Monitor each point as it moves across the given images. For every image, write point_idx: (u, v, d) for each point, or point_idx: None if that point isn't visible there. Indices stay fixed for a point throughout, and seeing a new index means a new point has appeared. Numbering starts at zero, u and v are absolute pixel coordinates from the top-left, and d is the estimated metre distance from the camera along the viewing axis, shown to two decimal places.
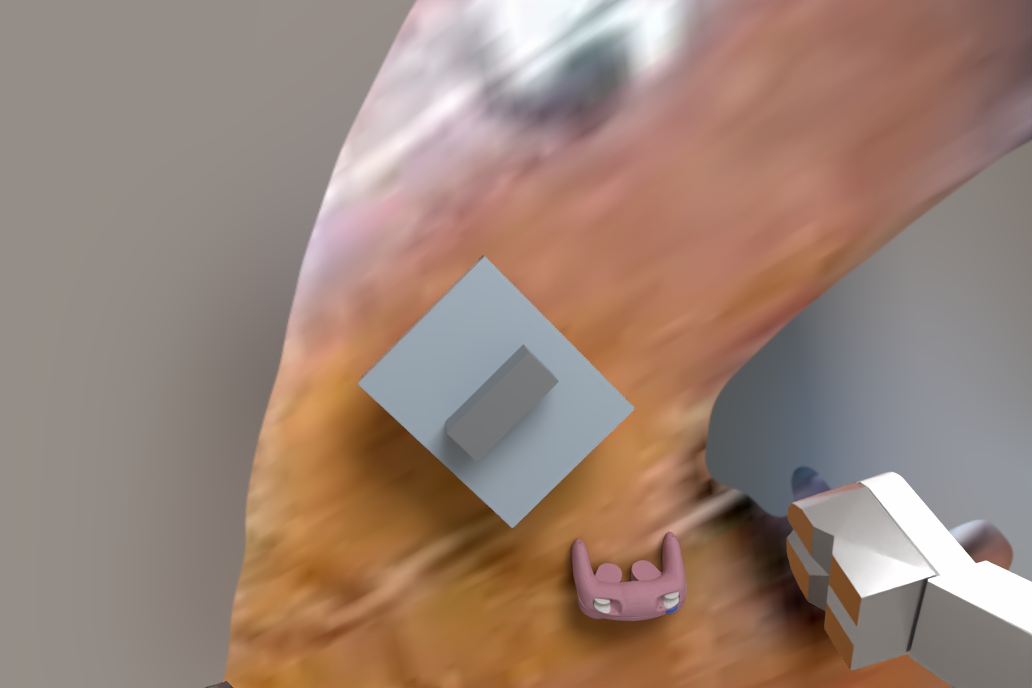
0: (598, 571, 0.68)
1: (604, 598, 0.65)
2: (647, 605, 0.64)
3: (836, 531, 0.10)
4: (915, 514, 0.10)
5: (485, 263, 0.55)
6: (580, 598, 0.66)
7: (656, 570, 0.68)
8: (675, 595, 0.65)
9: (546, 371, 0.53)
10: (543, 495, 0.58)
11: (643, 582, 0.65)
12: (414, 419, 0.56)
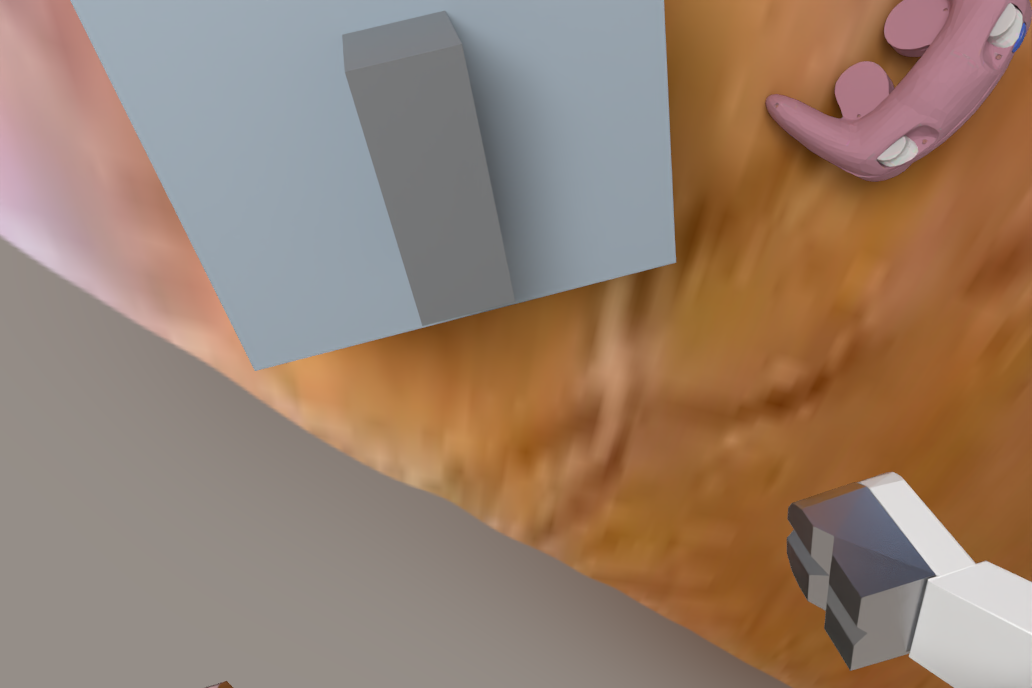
0: (841, 101, 0.35)
1: (893, 142, 0.33)
2: (974, 82, 0.31)
3: (836, 531, 0.10)
4: (915, 514, 0.10)
5: (88, 3, 0.20)
6: (853, 172, 0.35)
7: (931, 0, 0.33)
8: (1010, 14, 0.30)
9: (418, 58, 0.19)
10: (668, 179, 0.27)
11: (934, 55, 0.31)
12: (376, 317, 0.28)
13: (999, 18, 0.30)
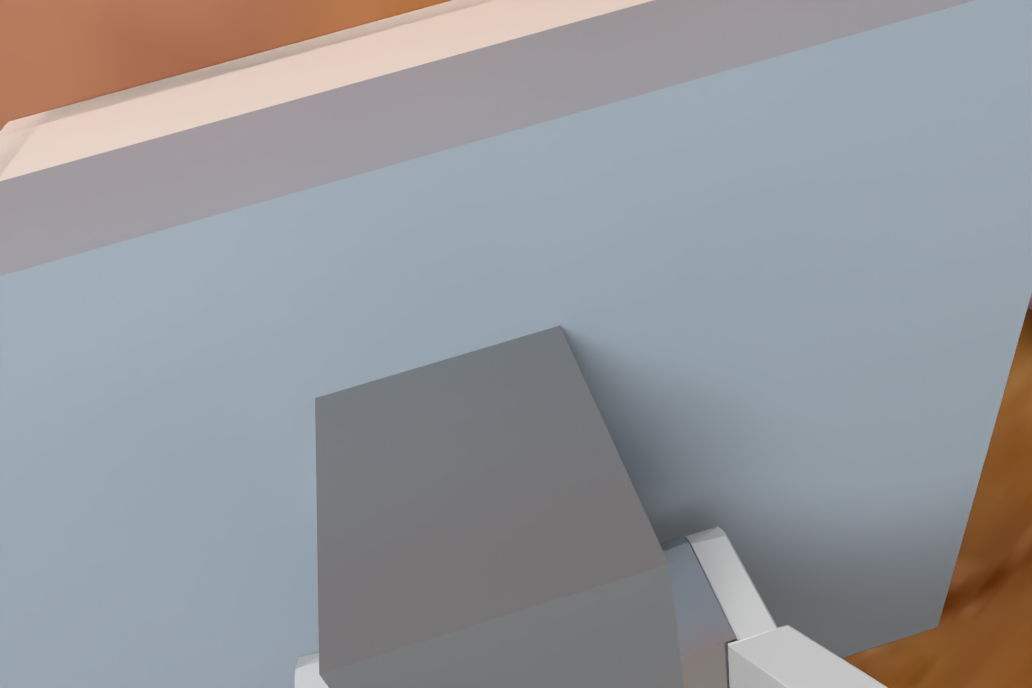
0: None
1: None
2: None
3: None
4: (729, 573, 0.10)
5: None
6: None
7: None
8: None
9: (540, 614, 0.06)
10: (958, 527, 0.14)
11: None
12: None
13: None
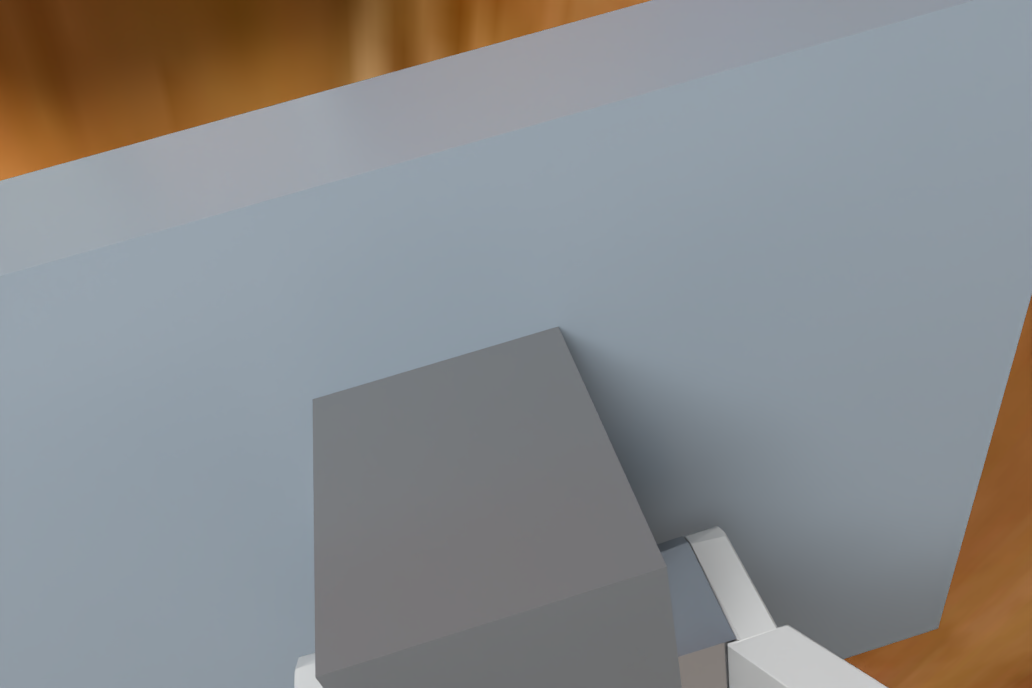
0: None
1: None
2: None
3: None
4: (729, 573, 0.10)
5: None
6: None
7: None
8: None
9: (537, 616, 0.06)
10: (958, 528, 0.14)
11: None
12: None
13: None
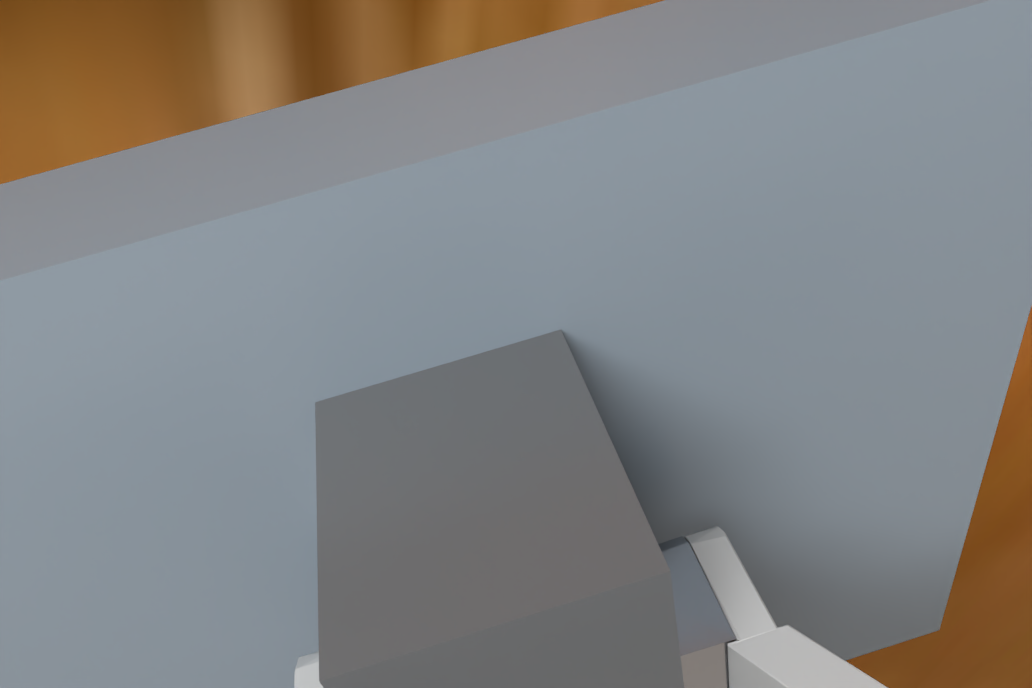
0: None
1: None
2: None
3: None
4: (729, 573, 0.10)
5: None
6: None
7: None
8: None
9: (541, 621, 0.06)
10: (959, 530, 0.14)
11: None
12: None
13: None
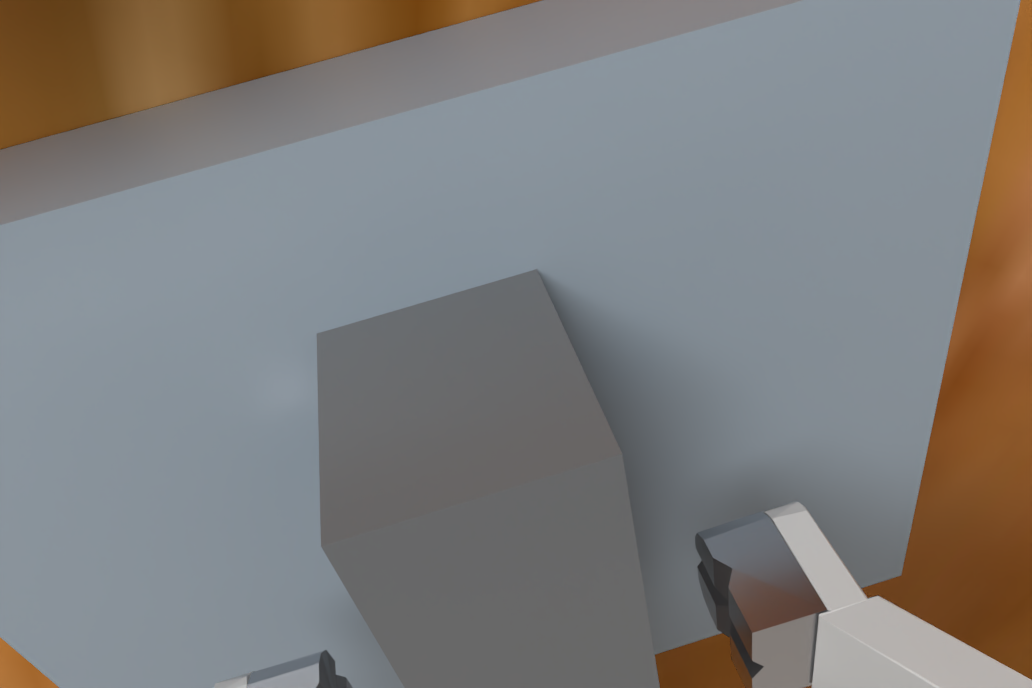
0: None
1: None
2: None
3: (735, 563, 0.10)
4: (813, 546, 0.10)
5: None
6: None
7: None
8: None
9: (511, 497, 0.07)
10: (914, 475, 0.15)
11: None
12: None
13: None
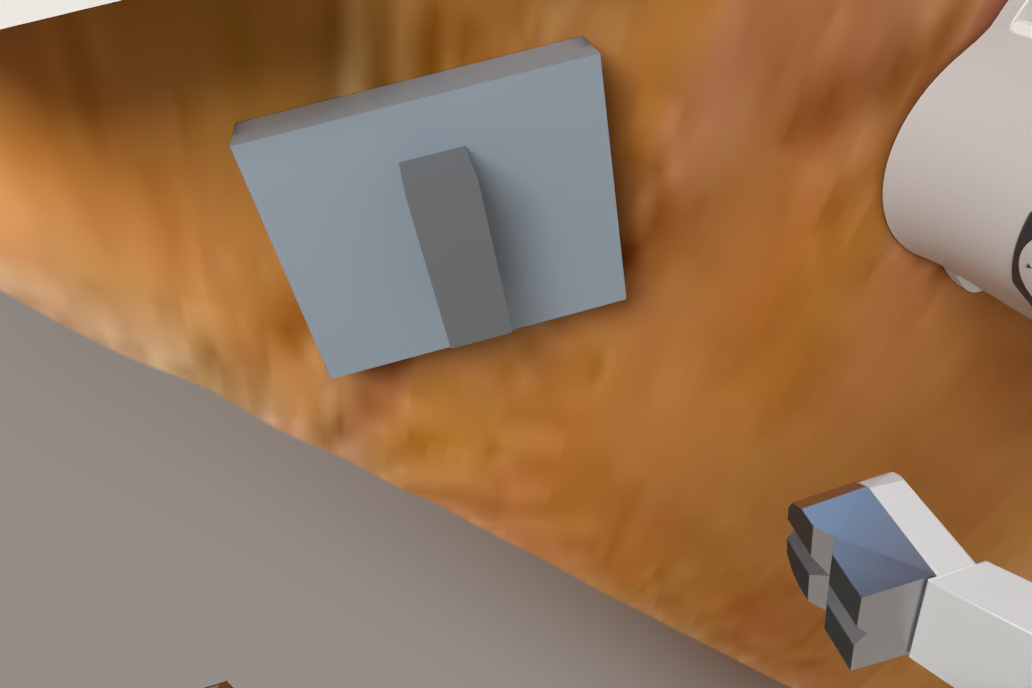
0: None
1: None
2: None
3: (836, 531, 0.10)
4: (915, 514, 0.10)
5: (242, 151, 0.32)
6: None
7: None
8: None
9: (451, 188, 0.31)
10: (617, 244, 0.39)
11: None
12: (415, 340, 0.39)
13: None
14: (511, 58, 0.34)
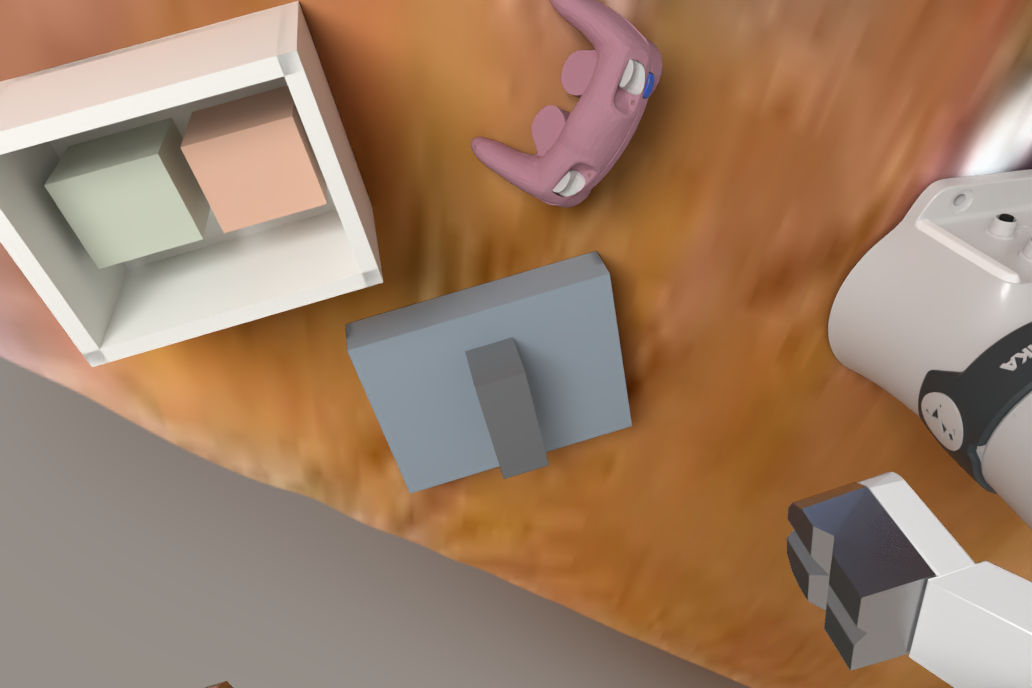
0: (536, 139, 0.41)
1: (562, 177, 0.39)
2: (611, 126, 0.37)
3: (836, 531, 0.10)
4: (915, 514, 0.10)
5: (355, 353, 0.45)
6: (545, 201, 0.40)
7: (590, 53, 0.39)
8: (630, 69, 0.36)
9: (506, 379, 0.44)
10: (624, 390, 0.51)
11: (579, 104, 0.37)
12: (473, 464, 0.52)
13: (624, 72, 0.36)
14: (544, 271, 0.47)
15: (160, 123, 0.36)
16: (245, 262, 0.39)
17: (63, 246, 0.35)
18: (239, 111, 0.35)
